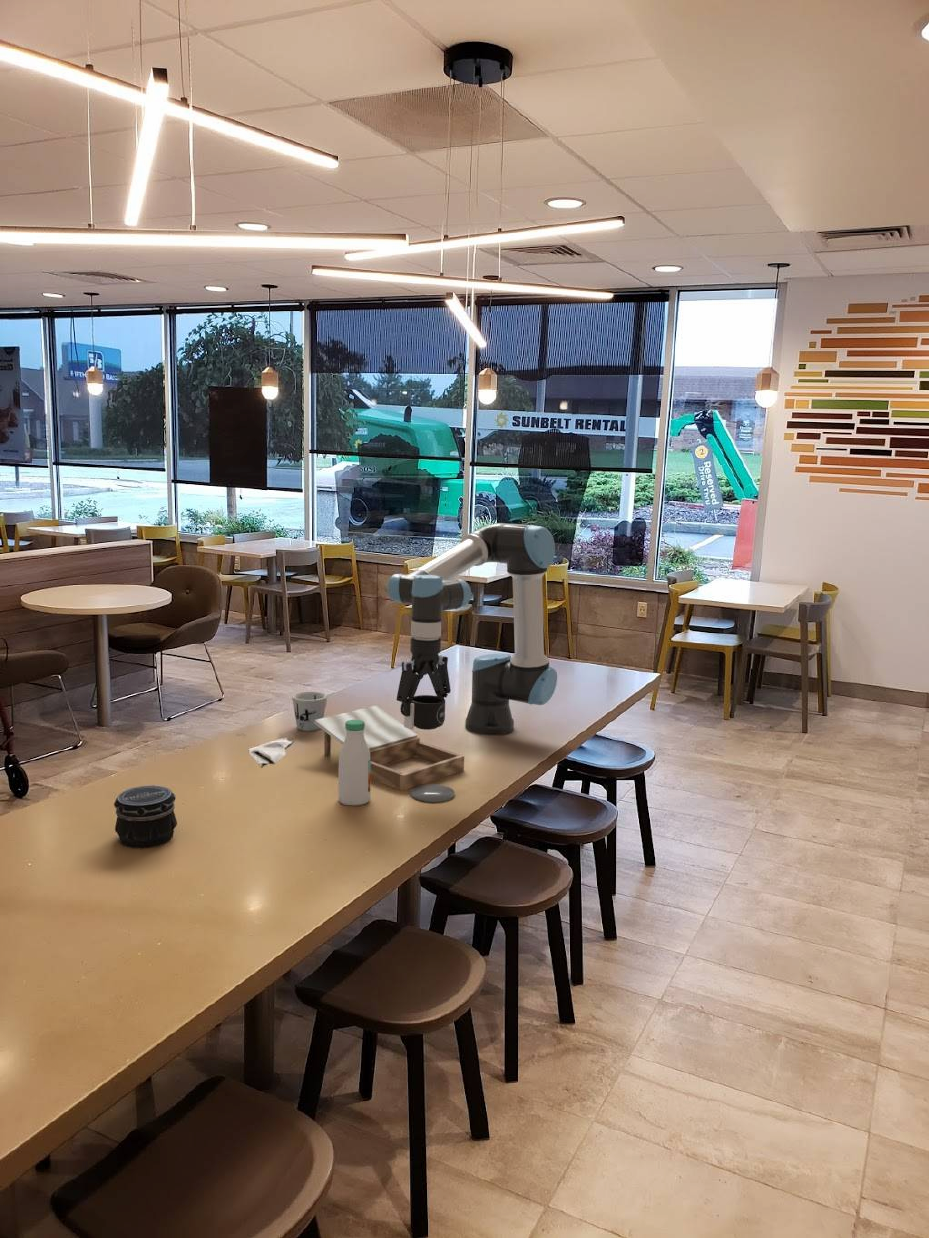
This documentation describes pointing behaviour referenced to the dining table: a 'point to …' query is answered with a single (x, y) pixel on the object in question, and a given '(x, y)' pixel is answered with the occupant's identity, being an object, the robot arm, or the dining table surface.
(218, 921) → the dining table surface
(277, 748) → the cloth
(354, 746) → the milk bottle
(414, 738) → the box
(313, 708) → the mug
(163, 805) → the container
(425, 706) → the mug
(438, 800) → the coaster
